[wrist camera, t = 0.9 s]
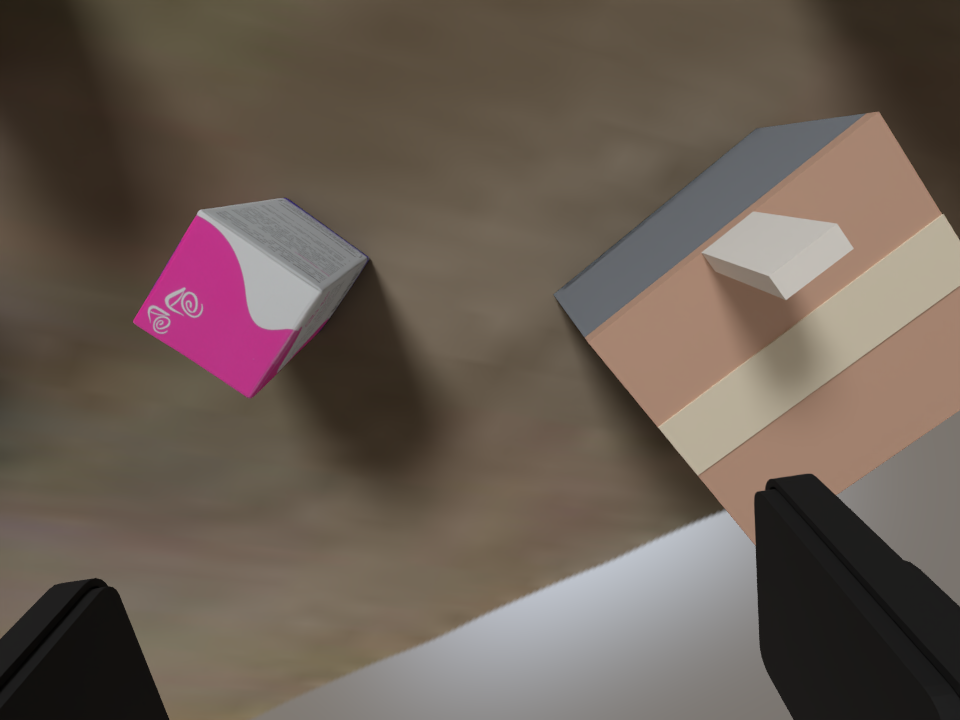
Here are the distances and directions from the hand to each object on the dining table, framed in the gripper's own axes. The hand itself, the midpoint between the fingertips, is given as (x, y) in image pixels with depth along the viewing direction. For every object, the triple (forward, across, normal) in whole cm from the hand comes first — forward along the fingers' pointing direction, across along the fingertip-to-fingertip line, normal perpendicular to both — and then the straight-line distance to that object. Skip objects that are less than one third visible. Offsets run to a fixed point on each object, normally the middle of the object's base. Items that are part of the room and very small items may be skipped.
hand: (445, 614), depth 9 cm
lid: (+19, -14, +4) cm, 24 cm away
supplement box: (+29, +9, -2) cm, 30 cm away
